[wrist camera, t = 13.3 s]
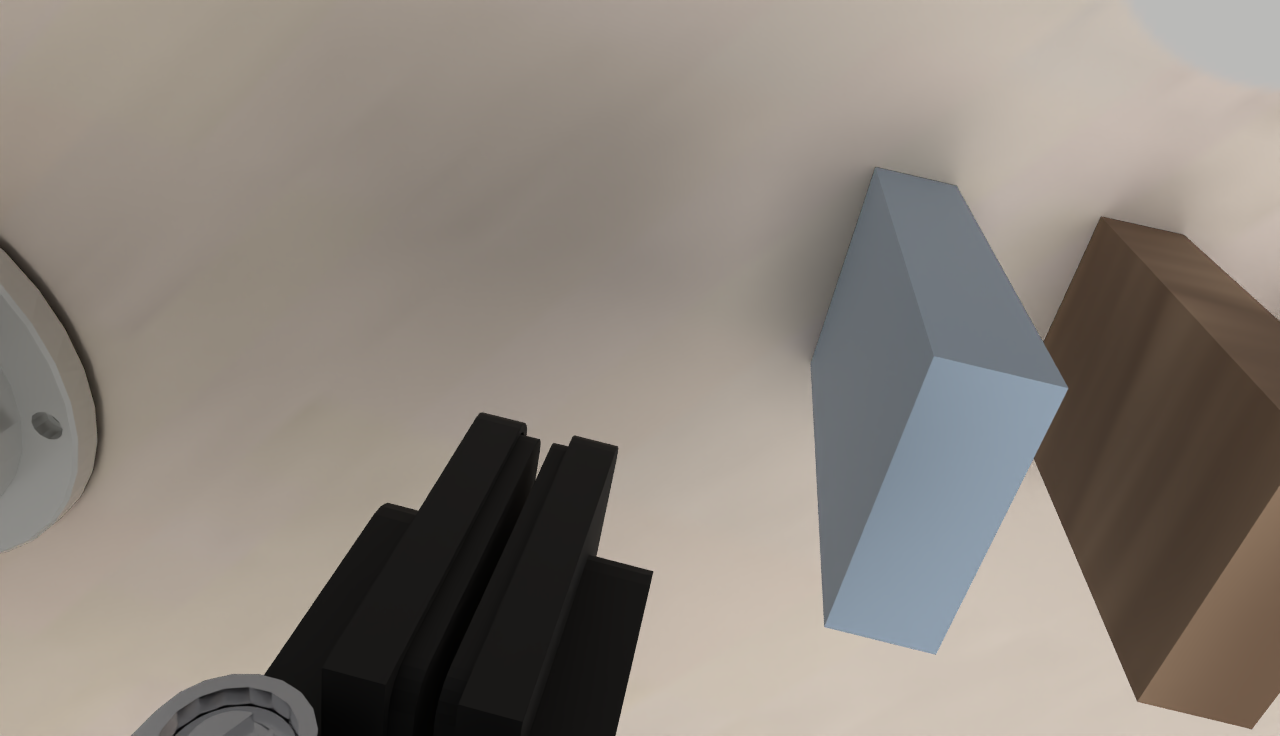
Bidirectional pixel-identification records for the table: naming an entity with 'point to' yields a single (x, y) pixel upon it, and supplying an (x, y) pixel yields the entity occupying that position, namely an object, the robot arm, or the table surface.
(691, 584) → the table surface
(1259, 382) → the domino
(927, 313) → the domino
